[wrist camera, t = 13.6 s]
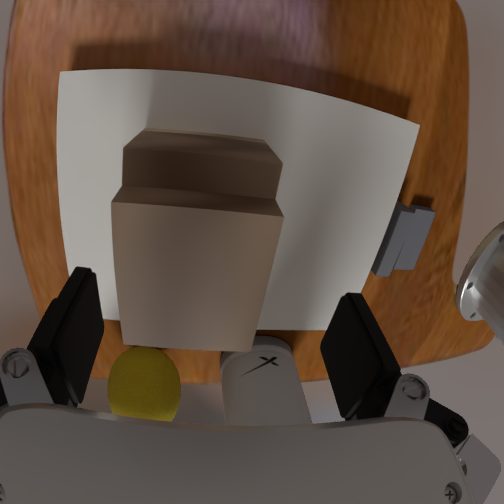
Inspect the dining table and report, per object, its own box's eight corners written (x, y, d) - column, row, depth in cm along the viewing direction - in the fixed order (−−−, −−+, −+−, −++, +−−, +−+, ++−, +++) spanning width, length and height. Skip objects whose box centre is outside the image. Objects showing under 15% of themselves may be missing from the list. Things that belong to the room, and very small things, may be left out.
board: (406, 120, 17) (419, 125, 16) (337, 316, 25) (343, 329, 24) (71, 71, 13) (60, 71, 12) (83, 302, 21) (77, 315, 20)
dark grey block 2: (416, 208, 19) (407, 201, 20) (393, 269, 22) (386, 260, 23) (435, 212, 20) (426, 205, 21) (412, 269, 22) (405, 261, 23)
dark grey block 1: (415, 213, 18) (401, 210, 18) (388, 276, 21) (375, 275, 21) (400, 201, 20) (386, 198, 20) (377, 261, 23) (364, 259, 22)
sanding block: (263, 139, 15) (293, 176, 10) (235, 296, 20) (245, 370, 15) (145, 128, 14) (111, 159, 9) (142, 289, 19) (127, 363, 14)
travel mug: (253, 320, 24) (310, 595, 7) (305, 351, 27) (371, 569, 10) (201, 361, 26) (222, 597, 9) (255, 385, 29) (294, 584, 12)
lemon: (121, 317, 22) (102, 407, 15) (189, 335, 24) (190, 425, 17) (113, 359, 24) (99, 439, 18) (172, 374, 26) (171, 453, 20)
